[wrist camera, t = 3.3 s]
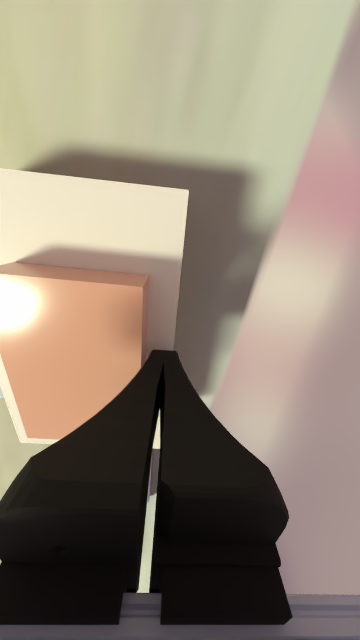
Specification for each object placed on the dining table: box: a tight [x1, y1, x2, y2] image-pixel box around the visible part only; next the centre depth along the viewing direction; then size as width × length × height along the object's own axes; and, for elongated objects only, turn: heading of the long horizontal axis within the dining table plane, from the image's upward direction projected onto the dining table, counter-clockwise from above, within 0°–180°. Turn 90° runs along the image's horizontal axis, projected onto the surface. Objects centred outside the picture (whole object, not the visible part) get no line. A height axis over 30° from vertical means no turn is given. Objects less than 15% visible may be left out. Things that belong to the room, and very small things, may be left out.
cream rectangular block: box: [0, 168, 189, 449], centre depth 13 cm, size 16×10×4 cm, turn 175°
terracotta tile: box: [0, 262, 149, 440], centre depth 10 cm, size 9×6×2 cm, turn 174°
